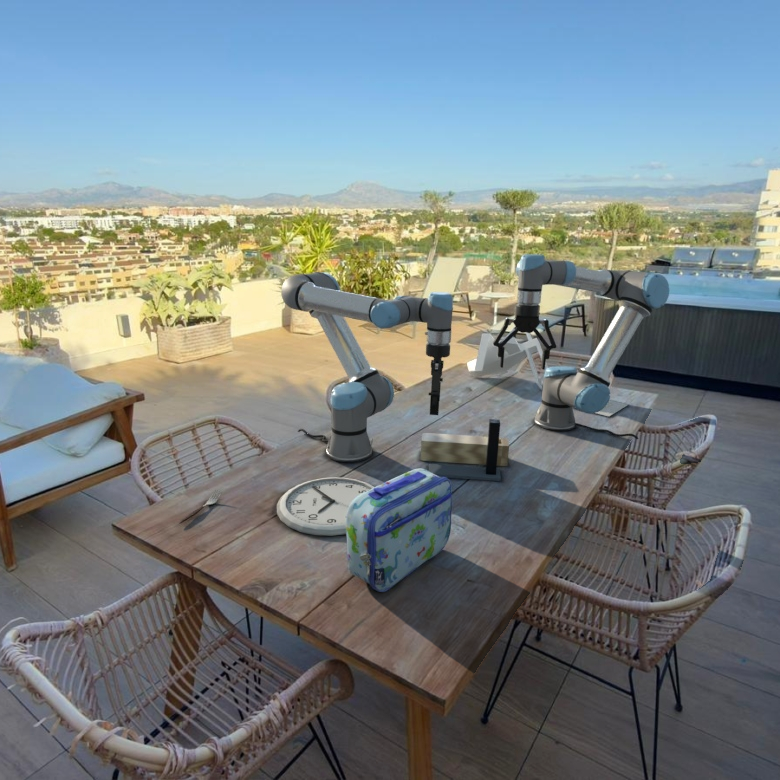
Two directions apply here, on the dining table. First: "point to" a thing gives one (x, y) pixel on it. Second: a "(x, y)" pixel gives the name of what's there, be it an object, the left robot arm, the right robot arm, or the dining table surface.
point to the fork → (209, 502)
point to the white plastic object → (512, 355)
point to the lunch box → (398, 527)
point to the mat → (463, 472)
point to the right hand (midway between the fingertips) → (522, 367)
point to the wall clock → (320, 505)
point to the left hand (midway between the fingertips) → (434, 407)
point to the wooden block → (460, 449)
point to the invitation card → (611, 408)
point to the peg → (492, 446)
